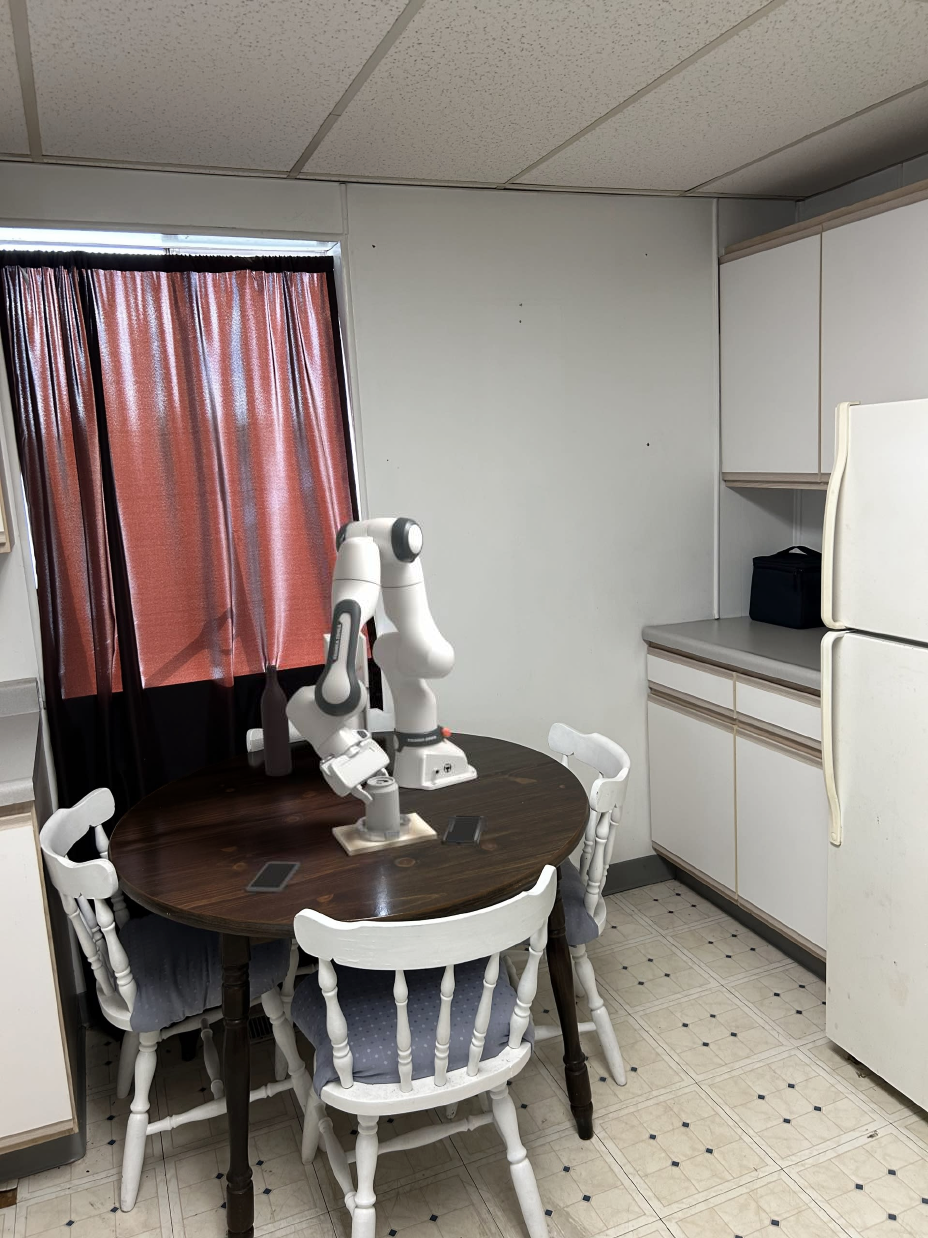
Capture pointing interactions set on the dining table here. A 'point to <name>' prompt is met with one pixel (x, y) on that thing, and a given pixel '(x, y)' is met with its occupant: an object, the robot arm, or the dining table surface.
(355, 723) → the display case
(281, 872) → the cell phone
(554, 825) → the dining table surface
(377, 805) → the can
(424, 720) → the robot arm
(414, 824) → the seat board
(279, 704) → the wine bottle
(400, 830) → the ring collar
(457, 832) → the phone
